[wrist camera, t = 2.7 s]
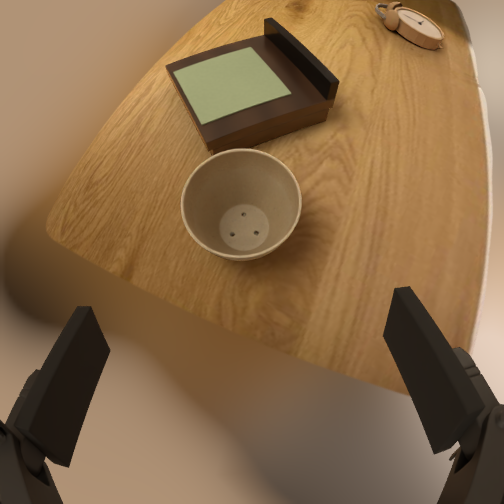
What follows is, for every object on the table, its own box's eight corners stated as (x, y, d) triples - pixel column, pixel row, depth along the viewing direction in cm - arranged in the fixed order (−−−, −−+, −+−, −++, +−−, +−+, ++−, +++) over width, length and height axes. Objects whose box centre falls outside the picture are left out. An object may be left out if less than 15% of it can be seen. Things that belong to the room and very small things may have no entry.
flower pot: (177, 229, 32) (157, 199, 25) (246, 170, 34) (243, 130, 27) (242, 298, 30) (236, 284, 23) (313, 230, 32) (326, 200, 25)
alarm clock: (446, 48, 38) (377, 4, 38) (433, 63, 43) (367, 22, 43) (444, 27, 41) (384, -11, 41) (434, 40, 46) (375, 4, 46)
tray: (211, 163, 34) (201, 125, 28) (171, 85, 39) (160, 49, 32) (329, 119, 36) (339, 80, 29) (270, 52, 40) (271, 17, 34)
